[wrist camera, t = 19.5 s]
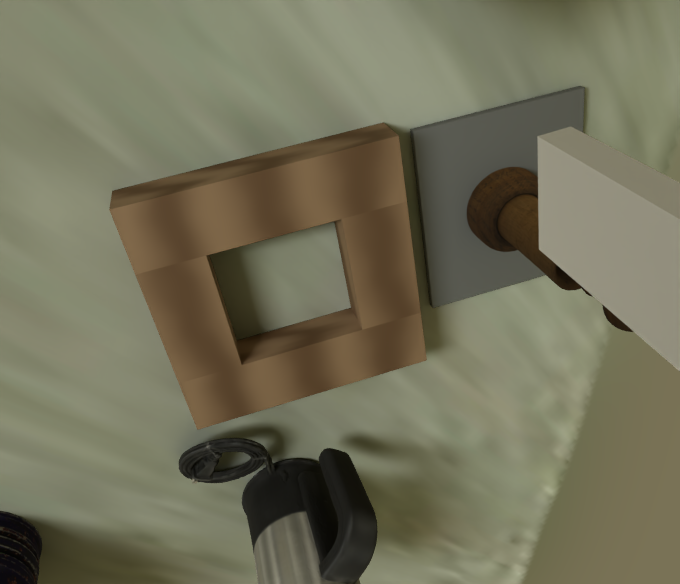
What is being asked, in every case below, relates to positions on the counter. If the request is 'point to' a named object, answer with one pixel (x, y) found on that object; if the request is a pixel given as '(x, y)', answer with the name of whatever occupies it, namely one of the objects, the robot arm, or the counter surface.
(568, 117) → the mat
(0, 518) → the storage jar
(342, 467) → the milk frother
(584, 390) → the counter surface
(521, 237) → the wooden pepper mill
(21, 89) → the counter surface
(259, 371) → the collar block
